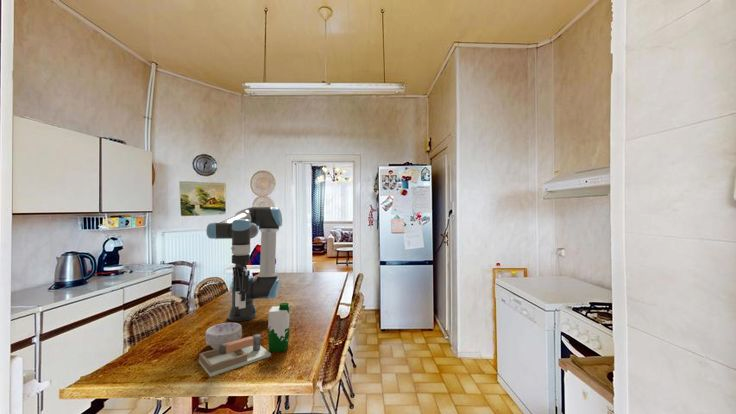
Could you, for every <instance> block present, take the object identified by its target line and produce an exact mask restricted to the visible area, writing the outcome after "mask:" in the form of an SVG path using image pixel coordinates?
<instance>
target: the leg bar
mask: <svg viewBox="0 0 736 414" xmlns="http://www.w3.org/2000/svg"><path fill="white" fill-rule="evenodd" d="M261 343H262V335H261V334H260V333H258V334H257V333H256V334H253V335H252V336H251V335H250V336H246V337H241V338H240V339H239V340H235V341H232V342H228V343H225V344H221V345H219V354H220V355H223V354H226V353H230V352H233V351H236V350H239V349H243V348H246V347H249V346H253V345H256V344H260V345H261Z"/></svg>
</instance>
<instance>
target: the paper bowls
mask: <svg viewBox="0 0 736 414" xmlns="http://www.w3.org/2000/svg"><path fill="white" fill-rule="evenodd" d="M242 338H243V327H242V325H241V324H240V323H237V322H223V323H219V324H214V325H212V326H210V327H208V328H207V329H206V330H205V344H206V345H207V346H210V347H211V348H212V350H214V349H217V348H219V345H221V344H225V343H228V342H232V341H235V340H239V339H242Z"/></svg>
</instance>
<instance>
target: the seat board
mask: <svg viewBox="0 0 736 414" xmlns="http://www.w3.org/2000/svg"><path fill="white" fill-rule="evenodd" d="M269 357H272V352H269V350H267V349H266V348H265V347H263V346H262V345H261V343H260V344H256V345H253V346H249V347H246V348H243V349H239V350H236V351H233V352H230V353H226V354H223V355H220V354H219V348H217V349H211V350H207V351H203V352H200V353H199V355H198V363H199V365H200V366H201V367H202V368H203V370H204V372H206V374H208V377H210V378H211V377H214V376H216V375H219V373H220V374H222V373H225V372H228V371H231V370H233V369H234V370H235V369H238V368H240V367H243V366H246V365H248V364H252V363H254V362H258V361H261V360H263V359H266V358H269Z"/></svg>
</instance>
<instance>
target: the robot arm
mask: <svg viewBox="0 0 736 414" xmlns="http://www.w3.org/2000/svg"><path fill="white" fill-rule="evenodd" d="M282 226H283V217H282V211H281V209H280V208H279V207H276V206H253V207H247V208H244V209H241V210H239V211H237V212H236V213H235V214H234V215H233V216H231V217H229V218H227V219H225V220H223V221H220V222H210V223H208V224H207V227H206V236H207V238H208V239H212V240H213V239H214V240H222V239H223V240H224V239H225V240H226V239H227V240H230V239H231V247H230V250H231V254H232V255H231V263H232V264H234V266H233V267H231V268H232V283H231V284H232V285H231V307H230V309H229V312H228V314H227V315H228V317H227V318H228V320H229V321H231V322H243V321H248V320H253V319H254V318H256V317H257V310H256V307H255V305H254V300H264V299H265V300H266V299H267V300H273V299H275V298H277V296H278V295H279V292H280V287H281V279H280V278H279V277H278V274H277V273H276V257H277V256H276V254H277V253H276V251H277V232H278V231H280V230H279V229H280V228H281V227H282ZM259 232H260V234H261V235H260V259H259V273H258V274H257V276H256V278H254V275H250V270H248V267H247V264H249V263H250V262H251V254H250V253H251V239H254V238H255V237H257V235H258V234H259Z"/></svg>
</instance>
